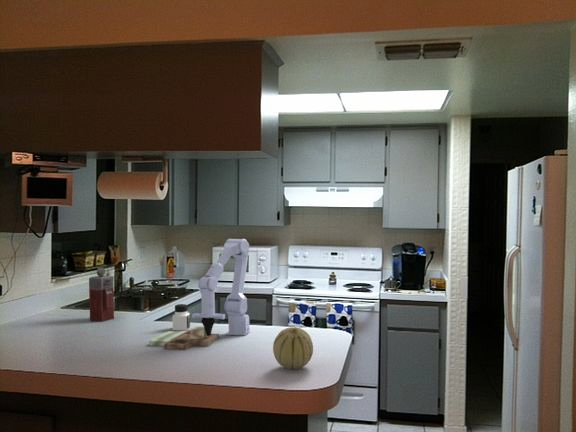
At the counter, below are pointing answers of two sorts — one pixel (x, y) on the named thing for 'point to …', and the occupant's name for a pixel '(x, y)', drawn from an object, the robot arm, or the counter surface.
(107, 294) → the red liquid decanter
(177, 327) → the medicine bottle
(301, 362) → the cantaloupe
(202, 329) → the birch block
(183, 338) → the trap board
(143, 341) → the counter surface
